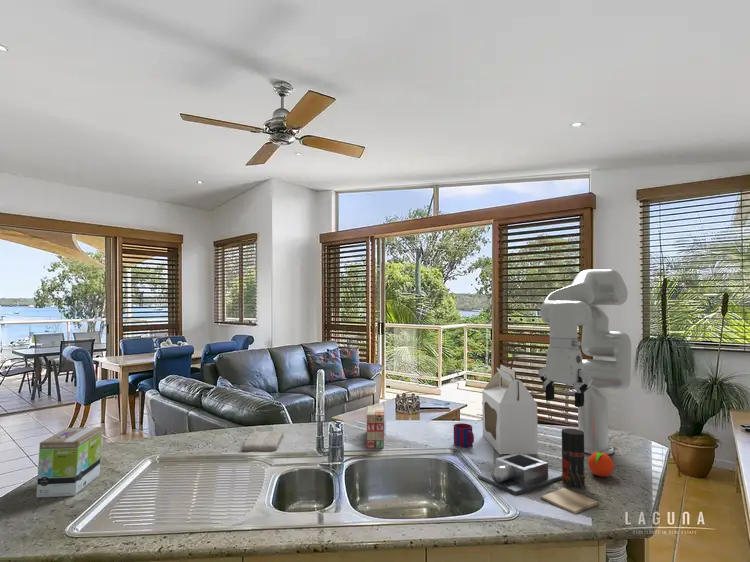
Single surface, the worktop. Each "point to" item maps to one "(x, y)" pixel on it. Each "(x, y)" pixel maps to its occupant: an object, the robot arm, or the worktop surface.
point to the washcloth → (263, 441)
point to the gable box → (509, 414)
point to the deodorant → (573, 458)
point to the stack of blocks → (375, 427)
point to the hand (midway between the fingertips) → (564, 402)
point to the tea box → (69, 461)
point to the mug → (463, 435)
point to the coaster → (569, 500)
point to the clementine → (600, 464)
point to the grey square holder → (520, 473)
